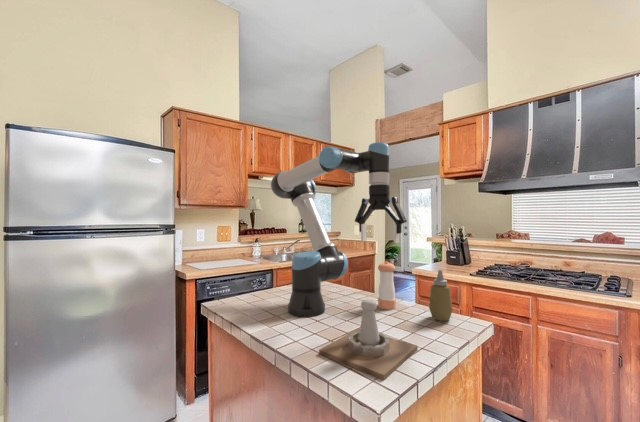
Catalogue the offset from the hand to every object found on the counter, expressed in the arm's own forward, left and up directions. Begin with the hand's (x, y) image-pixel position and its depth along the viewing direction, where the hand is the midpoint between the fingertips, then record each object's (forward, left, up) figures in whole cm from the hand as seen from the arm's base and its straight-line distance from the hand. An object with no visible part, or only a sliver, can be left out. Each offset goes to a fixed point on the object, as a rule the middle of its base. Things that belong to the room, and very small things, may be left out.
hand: (379, 241), depth 107 cm
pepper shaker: (-5, +15, -29) cm, 33 cm away
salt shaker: (+10, -25, -28) cm, 38 cm away
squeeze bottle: (+17, +15, -29) cm, 37 cm away
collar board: (+10, -25, -29) cm, 39 cm away
